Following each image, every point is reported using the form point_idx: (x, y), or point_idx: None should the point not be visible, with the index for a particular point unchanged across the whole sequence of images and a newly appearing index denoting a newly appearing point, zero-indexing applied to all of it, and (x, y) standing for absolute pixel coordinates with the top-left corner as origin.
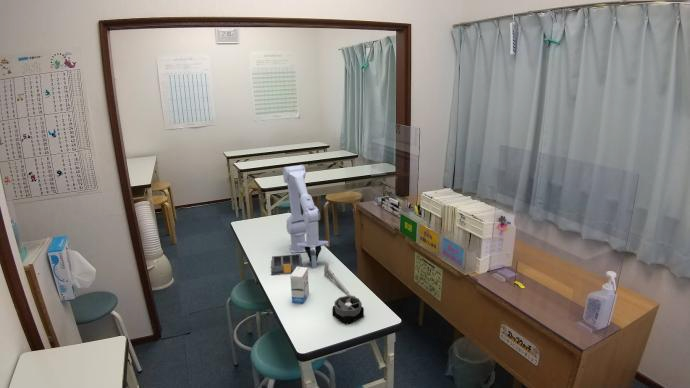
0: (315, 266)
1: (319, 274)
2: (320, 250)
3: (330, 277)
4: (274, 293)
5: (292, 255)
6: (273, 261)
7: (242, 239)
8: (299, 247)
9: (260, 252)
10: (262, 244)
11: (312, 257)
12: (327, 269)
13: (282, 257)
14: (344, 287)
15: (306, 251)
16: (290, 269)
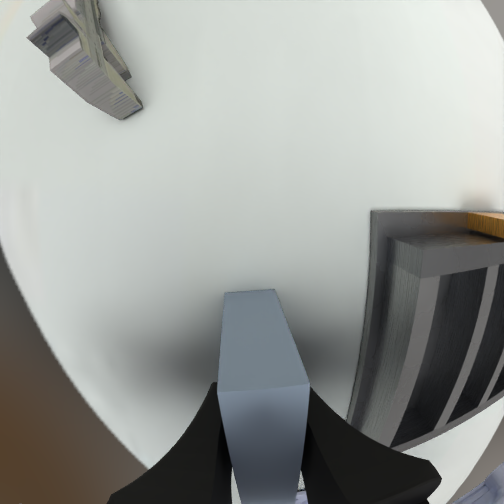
0: (236, 299)
1: (196, 130)
2: (119, 491)
3: (97, 5)
4: (481, 12)
5: (428, 433)
6: None
7: (467, 476)
8: (500, 479)
9: (477, 436)
10: (442, 479)
11: (293, 375)
12: (78, 7)
13: (486, 392)
14: None
15: (422, 463)
16: (489, 215)
